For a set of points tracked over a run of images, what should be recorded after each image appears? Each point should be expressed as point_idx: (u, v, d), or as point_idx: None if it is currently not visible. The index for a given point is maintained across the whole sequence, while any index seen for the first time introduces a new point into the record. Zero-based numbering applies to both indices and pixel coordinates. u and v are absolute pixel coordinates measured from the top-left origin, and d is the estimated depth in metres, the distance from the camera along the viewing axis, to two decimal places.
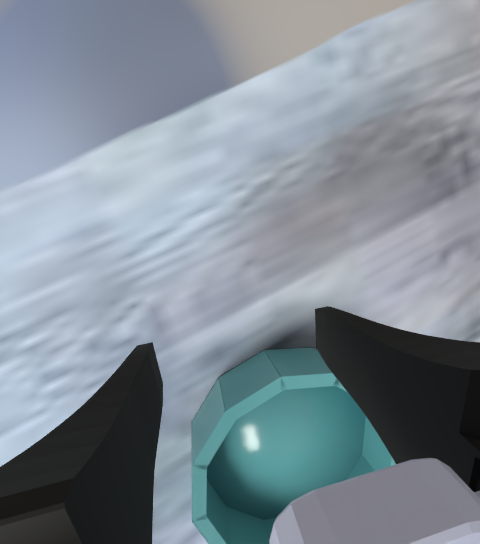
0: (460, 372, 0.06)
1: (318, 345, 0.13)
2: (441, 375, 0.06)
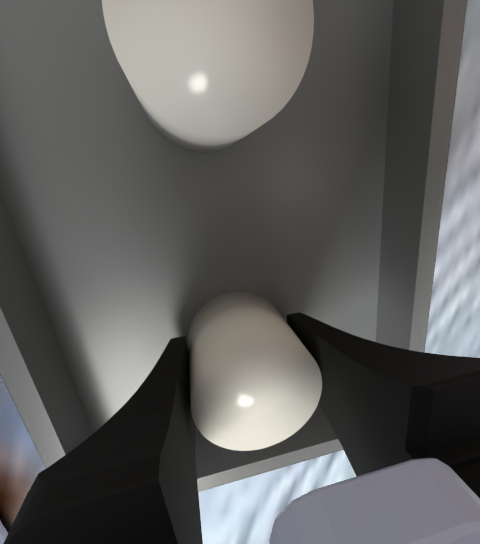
0: (403, 387, 0.06)
1: None
2: (389, 389, 0.06)
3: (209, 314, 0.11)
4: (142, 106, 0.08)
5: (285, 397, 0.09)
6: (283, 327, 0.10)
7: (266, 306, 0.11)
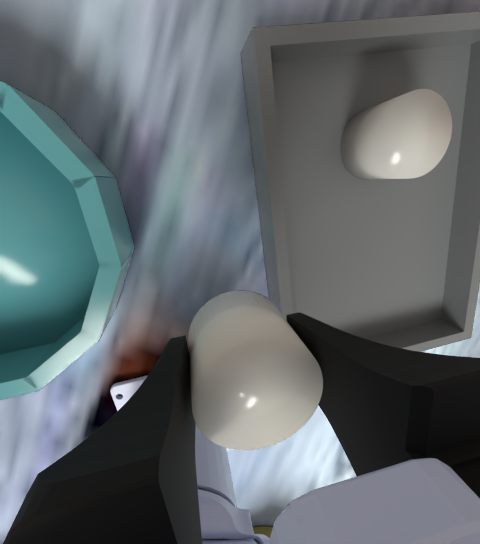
0: (403, 387, 0.06)
1: None
2: (389, 389, 0.06)
3: (209, 314, 0.11)
4: (359, 162, 0.17)
5: (286, 396, 0.09)
6: (283, 326, 0.10)
7: (266, 305, 0.11)
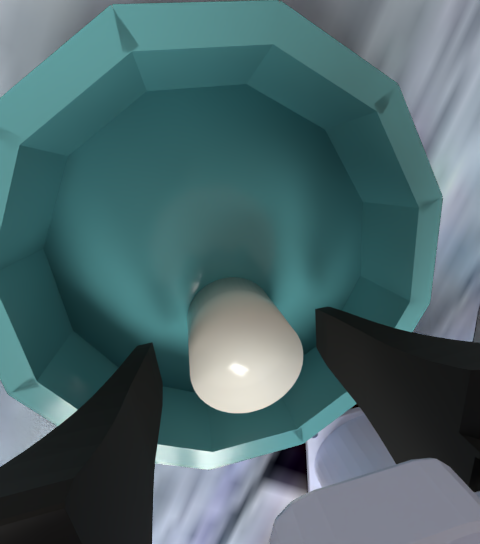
0: (460, 372, 0.06)
1: (318, 345, 0.13)
2: (441, 375, 0.06)
3: (204, 298, 0.12)
4: None
5: (271, 365, 0.11)
6: (268, 305, 0.11)
7: (254, 289, 0.13)
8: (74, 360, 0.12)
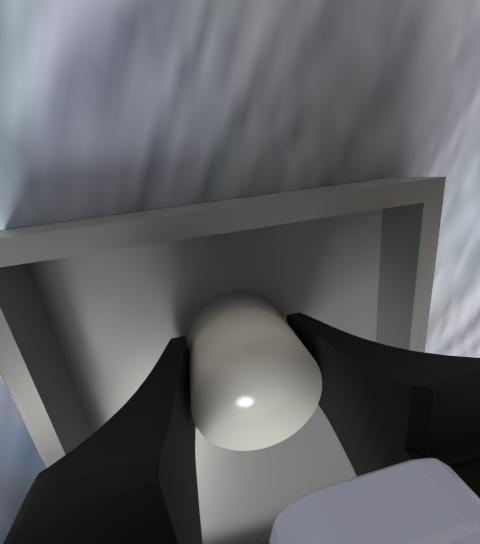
0: (403, 387, 0.06)
1: None
2: (389, 389, 0.06)
3: None
4: None
5: None
6: None
7: None
8: None
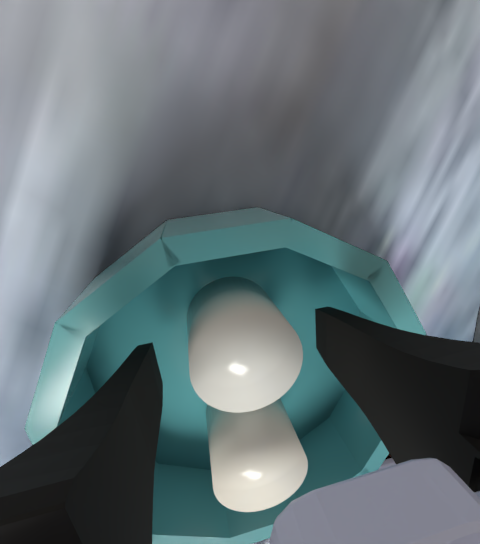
0: (460, 372, 0.06)
1: (318, 345, 0.13)
2: (441, 375, 0.06)
3: None
4: None
5: (281, 473, 0.13)
6: (276, 419, 0.13)
7: None
8: None
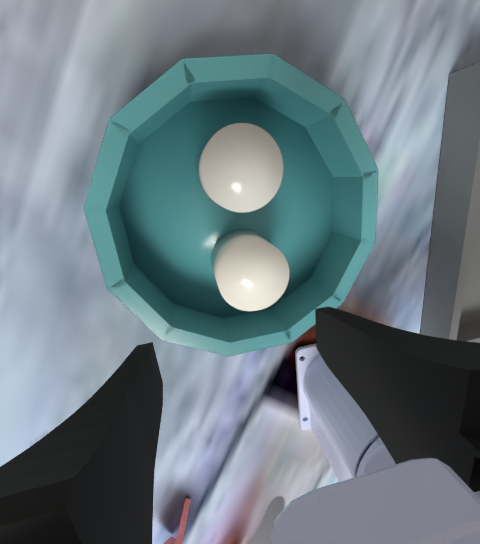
0: (460, 372, 0.06)
1: (318, 345, 0.13)
2: (441, 375, 0.06)
3: (222, 241, 0.18)
4: (205, 192, 0.17)
5: (268, 277, 0.17)
6: (265, 240, 0.17)
7: (256, 234, 0.19)
8: (139, 279, 0.18)
